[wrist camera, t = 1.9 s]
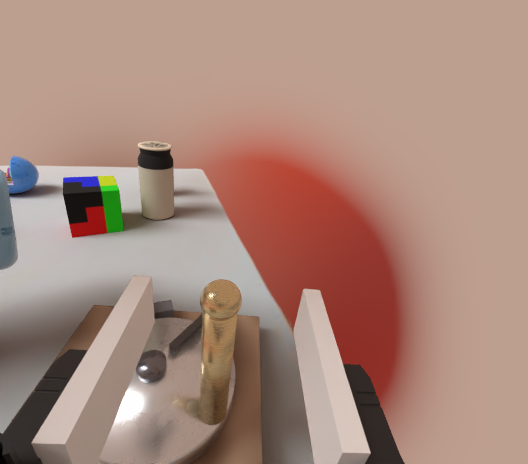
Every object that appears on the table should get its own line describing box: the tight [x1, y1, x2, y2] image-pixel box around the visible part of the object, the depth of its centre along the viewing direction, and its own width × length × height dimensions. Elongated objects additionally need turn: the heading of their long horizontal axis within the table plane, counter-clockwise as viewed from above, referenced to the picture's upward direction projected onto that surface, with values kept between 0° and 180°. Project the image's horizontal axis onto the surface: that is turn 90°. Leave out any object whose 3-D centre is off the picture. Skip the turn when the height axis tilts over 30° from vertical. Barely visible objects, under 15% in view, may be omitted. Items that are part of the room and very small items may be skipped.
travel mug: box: [138, 142, 174, 220], centre depth 72 cm, size 8×8×18 cm
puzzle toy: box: [63, 176, 124, 238], centre depth 65 cm, size 10×10×10 cm
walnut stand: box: [4, 300, 262, 464], centre depth 32 cm, size 24×24×6 cm
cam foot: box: [97, 279, 242, 464], centre depth 27 cm, size 16×17×18 cm
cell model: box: [5, 156, 39, 194], centre depth 74 cm, size 10×12×10 cm
